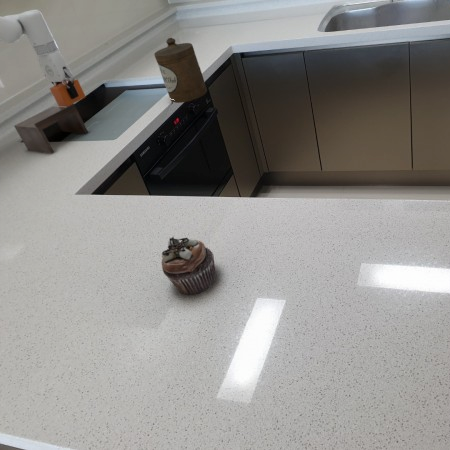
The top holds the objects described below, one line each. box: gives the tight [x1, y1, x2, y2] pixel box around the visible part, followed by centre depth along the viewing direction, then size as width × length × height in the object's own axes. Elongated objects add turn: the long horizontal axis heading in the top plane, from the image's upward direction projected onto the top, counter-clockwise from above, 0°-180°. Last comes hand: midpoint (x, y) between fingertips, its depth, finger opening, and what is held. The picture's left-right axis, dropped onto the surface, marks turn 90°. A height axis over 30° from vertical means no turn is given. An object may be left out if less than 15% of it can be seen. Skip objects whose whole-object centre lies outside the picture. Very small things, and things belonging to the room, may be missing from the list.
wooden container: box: [153, 37, 208, 104], centre depth 176 cm, size 15×15×22 cm
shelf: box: [13, 103, 89, 154], centre depth 164 cm, size 14×16×11 cm
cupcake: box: [161, 236, 217, 296], centre depth 86 cm, size 10×10×10 cm
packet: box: [49, 78, 86, 107], centre depth 172 cm, size 5×9×7 cm, turn 151°
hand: (70, 97), depth 173 cm, fingers closed on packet, 5 cm apart
